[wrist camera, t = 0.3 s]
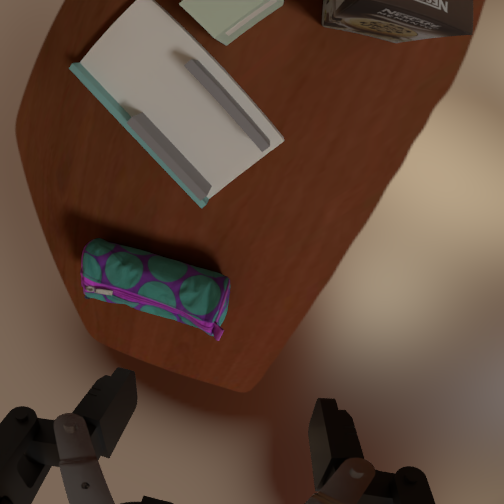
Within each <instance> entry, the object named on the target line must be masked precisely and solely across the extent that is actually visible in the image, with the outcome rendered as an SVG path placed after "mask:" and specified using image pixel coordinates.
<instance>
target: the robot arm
mask: <svg viewBox="0 0 504 504" xmlns="http://www.w3.org/2000/svg"><path fill="white" fill-rule="evenodd" d="M136 405H137V388H136V378H135V372H134V371H131V370H127V369H123V368H117V369H116V370H115V371H114V373H113V374H112V376H107V375H105V376H103V377H102V378H100V379H98V380H97V381H96V382H95V384H94V385H93V386H92V389H90V390H89V392H88V394H86V395H85V397H84V398H83V399H82V401H81V402H80V403H79V404H78V406H77V407H76V408H75V410H74V411H73V412H72V413H66V414H62V415H60V416H58V417H57V418H56V419H55V420H48V419H41V418H37V415H36V413H35V411H34V410H32V409H31V408H29V407H24V406H23V407H22V406H21V407H16V408H14V409H12V410H11V411H10V412H9V413H8V414H7V416H6V417H5V418H4V419H3V421H2V422H1V423H0V504H31V503H32V501H33V499H34V498H35V496H36V494H37V492H38V490H39V488H40V486H41V484H42V483H43V481H44V479H45V477H46V475H47V474H48V472H49V470H50V468H51V466H57V467H60V471H61V475H62V478H63V482H64V486H65V490H66V493H67V497H68V500H69V503H70V504H115V503H114V501H113V498H112V496H111V494H110V491H109V489H108V486H107V484H106V481H105V479H104V476H103V474H102V471H101V468H100V465H99V462H98V460H99V458H100V456H104V457H107V458H110V456H111V454H112V452H113V450H114V448H115V446H116V444H117V442H118V441H119V439H120V437H121V435H122V433H123V431H124V429H125V427H126V425H127V424H128V422H129V420H130V418H131V416H132V414H133V412H134V410H135V408H136ZM354 427H355V426H354V422H353V419H352V417H351V416H350V415H349V414H348V413H347V412H346V410H338V407H337V403H336V400H335V399H327V398H318V399H317V401H316V404H315V407H314V411H313V414H312V417H311V420H310V423H309V431H308V435H309V443H310V452H311V459H312V468H313V476H314V485H315V491H319V492H318V493H315V494H314V495H312V496H311V497H310V498H309V500H308V501H307V502H306V503H305V504H435V502H434V498H433V495H432V492H431V490H430V487H429V484H428V481H427V478H426V476H425V474H424V473H423V472H422V471H421V470H420V469H418V468H415V467H410V466H407V467H403V468H401V469H399V470H398V471H397V472H396V474H394V473H388V472H382V471H378V470H375V468H374V466H373V465H372V464H371V463H370V462H369V461H367V460H365V459H364V456H363V453H362V449H361V446H360V442H359V439H358V436H357V432H356V429H355V428H354ZM121 504H173V503H171V502H167V501H163V500H158V499H155V498H151V497H147V496H143V499H142V501H141V502H126V503H121Z"/></svg>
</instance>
